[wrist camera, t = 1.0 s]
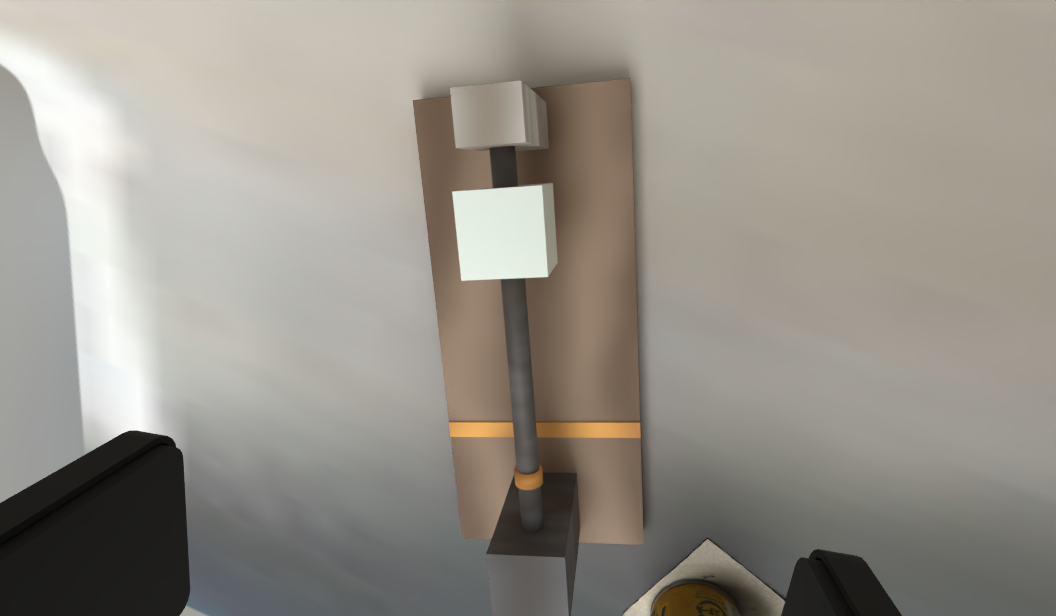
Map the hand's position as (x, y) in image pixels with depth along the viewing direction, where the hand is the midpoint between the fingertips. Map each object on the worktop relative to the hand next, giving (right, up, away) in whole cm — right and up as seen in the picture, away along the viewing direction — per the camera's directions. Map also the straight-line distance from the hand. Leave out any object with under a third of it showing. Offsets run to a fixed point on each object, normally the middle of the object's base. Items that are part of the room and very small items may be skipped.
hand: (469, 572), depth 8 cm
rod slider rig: (+2, +3, +27) cm, 27 cm away
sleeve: (0, +8, +20) cm, 22 cm away
